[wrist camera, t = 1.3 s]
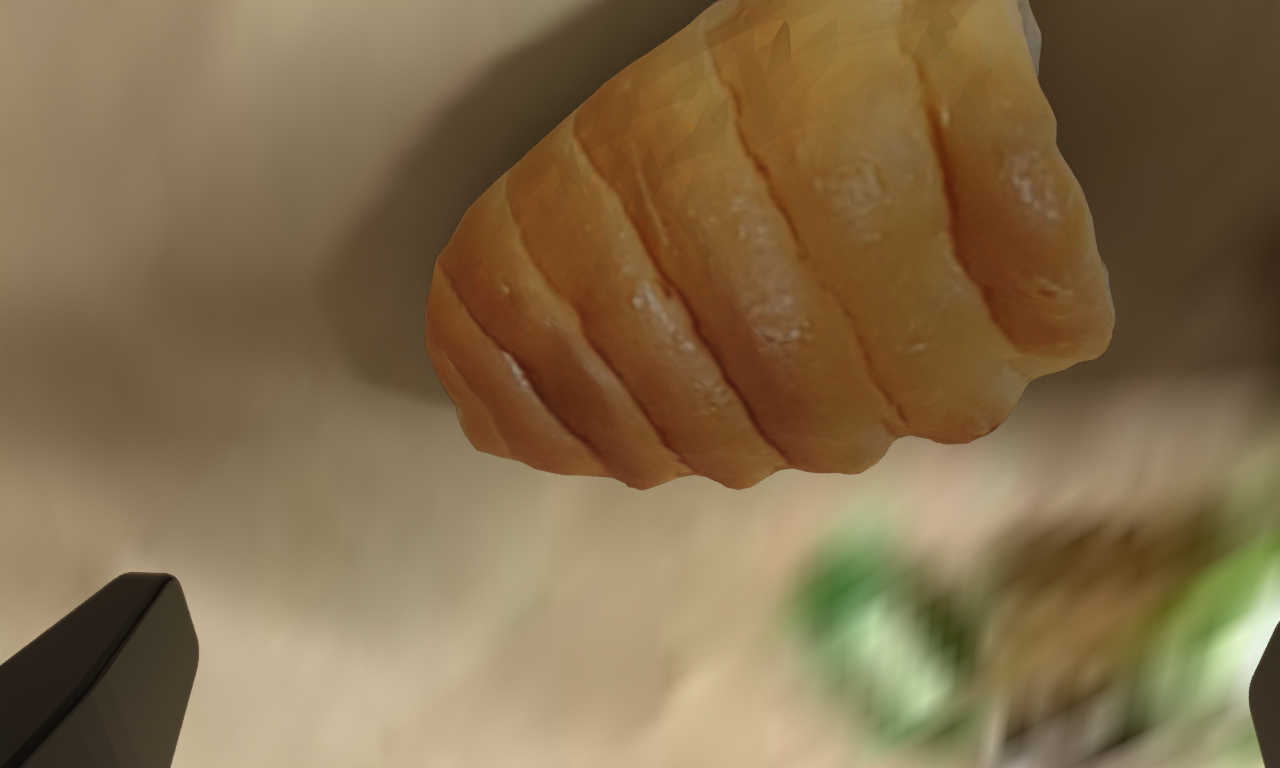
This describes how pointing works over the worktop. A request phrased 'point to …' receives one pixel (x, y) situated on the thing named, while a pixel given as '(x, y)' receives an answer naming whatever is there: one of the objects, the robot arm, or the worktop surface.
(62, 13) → the worktop surface
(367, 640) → the worktop surface
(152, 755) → the robot arm
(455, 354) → the pastry
